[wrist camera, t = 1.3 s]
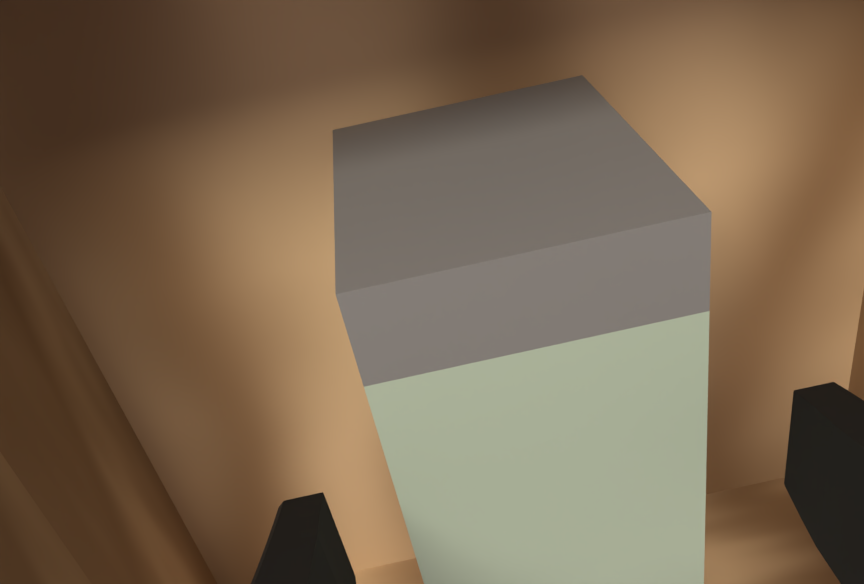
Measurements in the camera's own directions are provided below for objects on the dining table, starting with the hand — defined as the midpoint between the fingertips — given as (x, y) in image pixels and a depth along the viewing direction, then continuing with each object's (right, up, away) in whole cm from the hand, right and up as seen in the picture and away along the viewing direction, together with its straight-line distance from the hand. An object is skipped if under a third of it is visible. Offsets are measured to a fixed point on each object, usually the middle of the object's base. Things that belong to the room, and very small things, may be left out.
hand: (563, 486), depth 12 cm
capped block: (-1, +3, +5) cm, 7 cm away
